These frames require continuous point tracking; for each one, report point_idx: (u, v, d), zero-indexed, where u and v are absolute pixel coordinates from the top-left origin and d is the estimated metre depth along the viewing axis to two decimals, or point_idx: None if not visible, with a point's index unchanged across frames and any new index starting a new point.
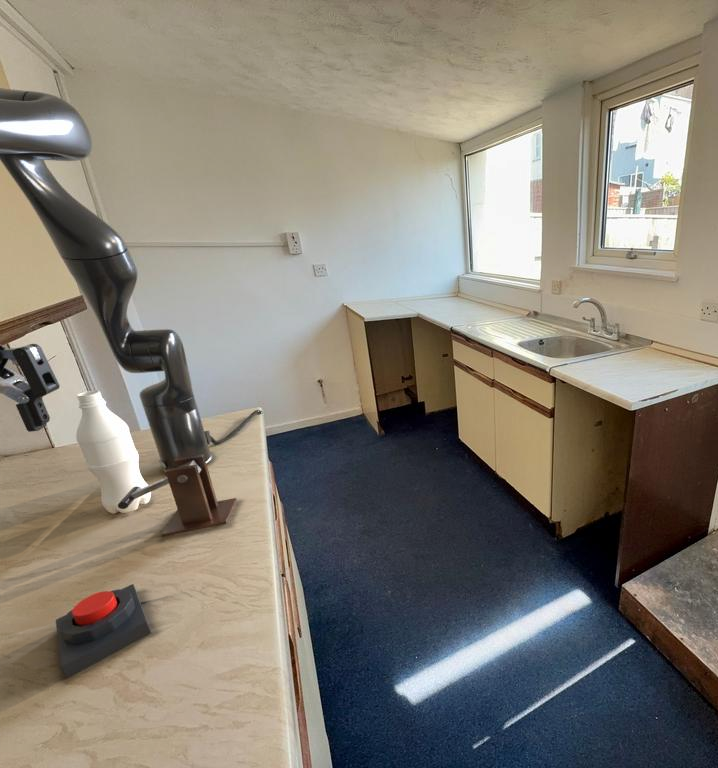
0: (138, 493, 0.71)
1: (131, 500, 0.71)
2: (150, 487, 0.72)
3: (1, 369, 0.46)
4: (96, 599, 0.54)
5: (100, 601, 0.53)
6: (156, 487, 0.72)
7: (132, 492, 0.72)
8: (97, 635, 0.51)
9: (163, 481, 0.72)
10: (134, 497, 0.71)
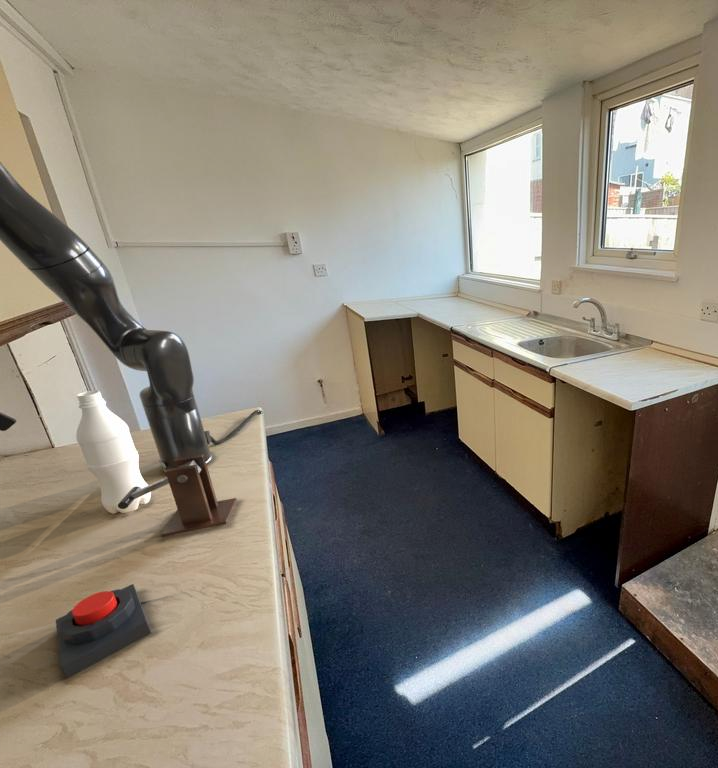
0: (138, 493, 0.71)
1: (131, 500, 0.71)
2: (150, 487, 0.72)
3: None
4: (96, 599, 0.54)
5: (100, 601, 0.53)
6: (156, 487, 0.72)
7: (132, 492, 0.72)
8: (97, 635, 0.51)
9: (163, 481, 0.72)
10: (134, 497, 0.71)
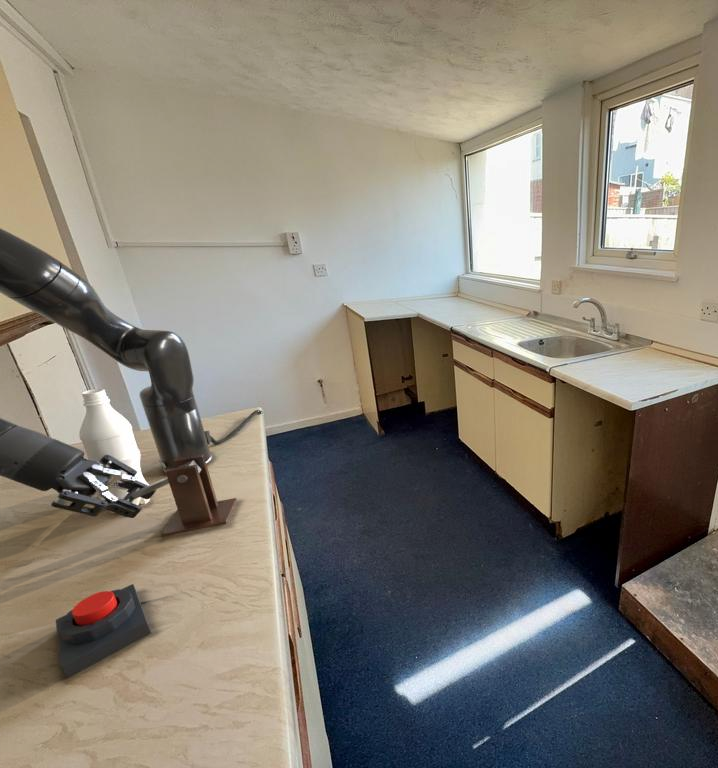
0: (138, 493, 0.71)
1: (131, 500, 0.71)
2: (151, 487, 0.72)
3: (83, 489, 0.66)
4: (96, 599, 0.54)
5: (100, 601, 0.53)
6: (156, 487, 0.72)
7: (132, 492, 0.72)
8: (97, 635, 0.51)
9: (163, 481, 0.72)
10: (134, 497, 0.71)
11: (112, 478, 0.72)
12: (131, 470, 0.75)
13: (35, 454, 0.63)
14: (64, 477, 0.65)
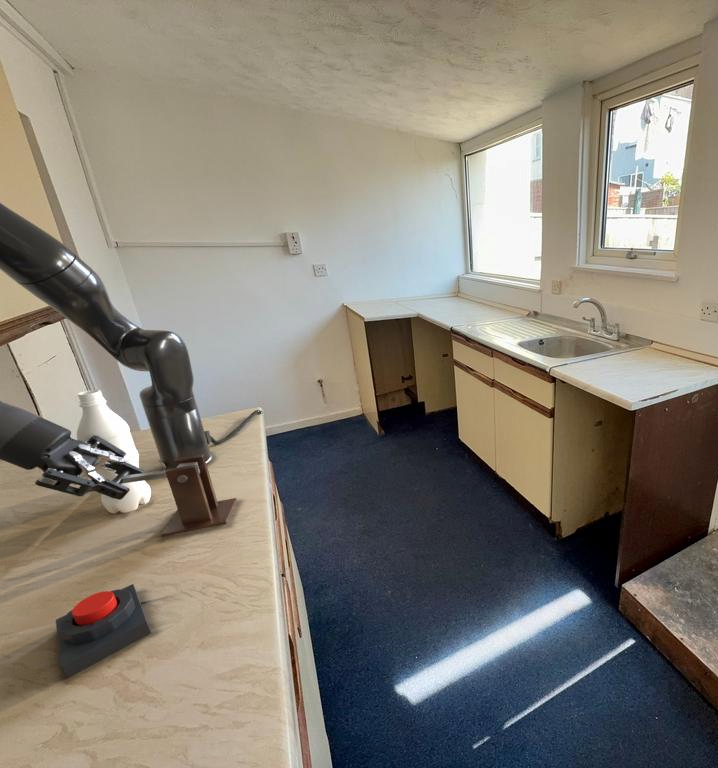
0: (130, 479, 0.70)
1: (120, 484, 0.69)
2: (145, 476, 0.71)
3: (69, 469, 0.65)
4: (96, 599, 0.54)
5: (100, 601, 0.53)
6: (150, 478, 0.71)
7: (123, 475, 0.71)
8: (97, 635, 0.51)
9: (160, 474, 0.72)
10: (124, 481, 0.70)
11: (100, 459, 0.70)
12: (119, 451, 0.73)
13: (19, 431, 0.61)
14: (49, 455, 0.63)
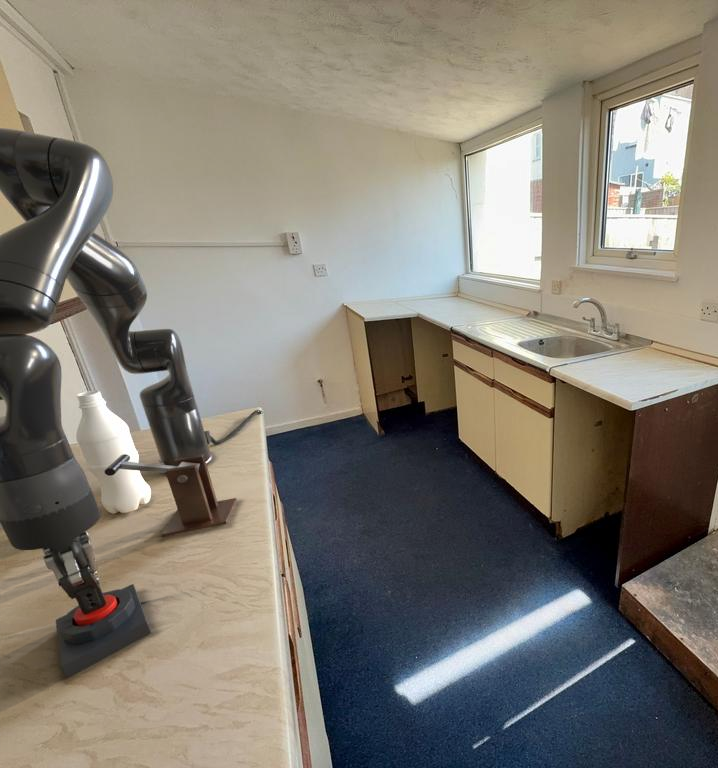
0: (129, 466, 0.70)
1: (118, 469, 0.69)
2: (145, 467, 0.71)
3: (78, 564, 0.49)
4: None
5: None
6: (149, 470, 0.71)
7: (123, 461, 0.70)
8: (97, 635, 0.51)
9: (160, 468, 0.71)
10: (122, 467, 0.69)
11: None
12: None
13: (80, 499, 0.48)
14: (76, 539, 0.48)
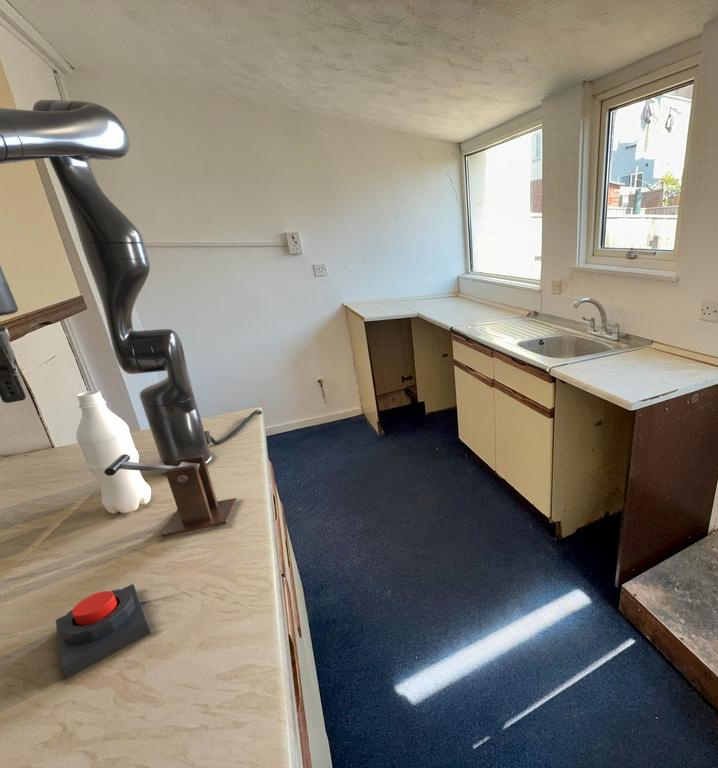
0: (129, 466, 0.70)
1: (118, 469, 0.69)
2: (145, 467, 0.71)
3: None
4: (96, 599, 0.54)
5: (100, 601, 0.53)
6: (149, 470, 0.71)
7: (123, 461, 0.70)
8: (97, 635, 0.51)
9: (160, 468, 0.71)
10: (122, 467, 0.69)
11: None
12: None
13: None
14: None
